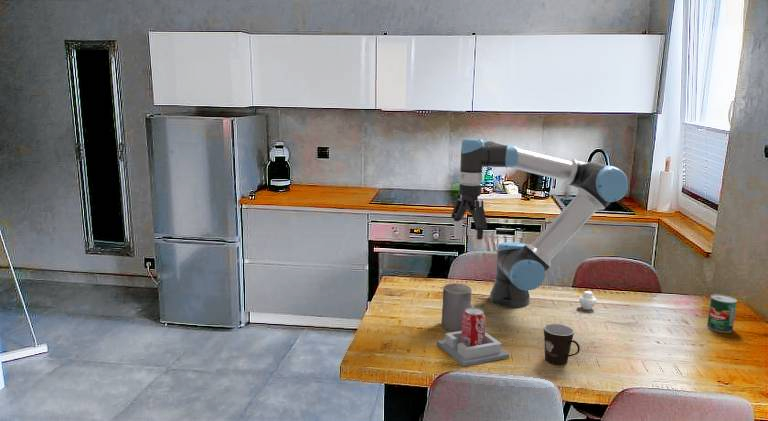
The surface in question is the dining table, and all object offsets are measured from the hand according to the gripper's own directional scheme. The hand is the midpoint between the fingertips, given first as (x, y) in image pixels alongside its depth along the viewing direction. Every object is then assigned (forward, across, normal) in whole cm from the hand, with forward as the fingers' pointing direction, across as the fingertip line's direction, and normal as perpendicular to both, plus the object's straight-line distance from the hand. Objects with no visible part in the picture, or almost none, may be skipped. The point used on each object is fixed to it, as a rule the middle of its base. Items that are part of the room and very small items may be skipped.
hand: (467, 243), depth 199 cm
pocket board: (+27, +27, -13) cm, 40 cm away
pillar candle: (+27, +8, -8) cm, 29 cm away
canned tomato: (+27, +42, +78) cm, 93 cm away
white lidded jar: (+27, +11, +47) cm, 55 cm away
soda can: (+26, +27, -13) cm, 39 cm away
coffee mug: (+27, +43, +7) cm, 51 cm away
